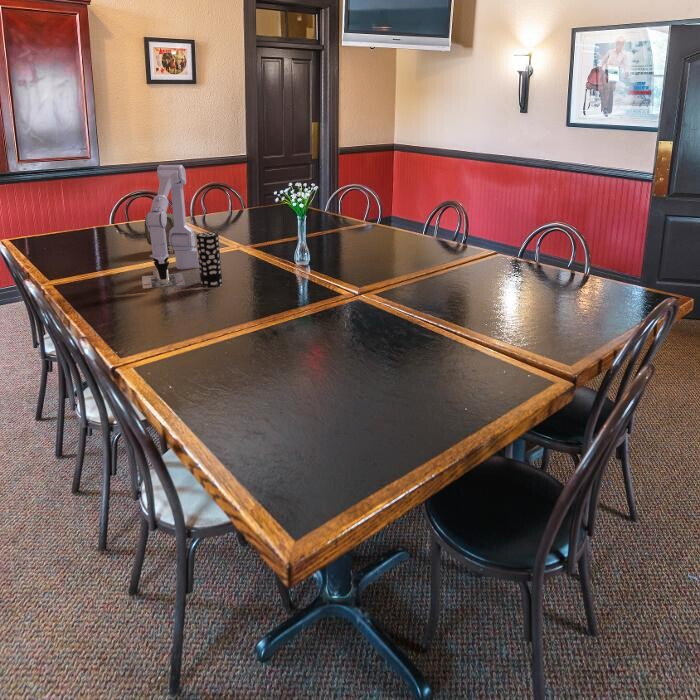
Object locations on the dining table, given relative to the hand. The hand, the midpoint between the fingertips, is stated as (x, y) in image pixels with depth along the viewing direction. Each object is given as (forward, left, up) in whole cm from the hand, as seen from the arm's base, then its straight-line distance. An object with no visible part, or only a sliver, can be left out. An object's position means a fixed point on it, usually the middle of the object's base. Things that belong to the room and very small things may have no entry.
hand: (163, 277), depth 258 cm
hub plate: (0, -4, -3) cm, 5 cm away
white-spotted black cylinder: (-18, +6, -3) cm, 19 cm away
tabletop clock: (-4, -58, -3) cm, 59 cm away
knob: (0, 0, -2) cm, 2 cm away
